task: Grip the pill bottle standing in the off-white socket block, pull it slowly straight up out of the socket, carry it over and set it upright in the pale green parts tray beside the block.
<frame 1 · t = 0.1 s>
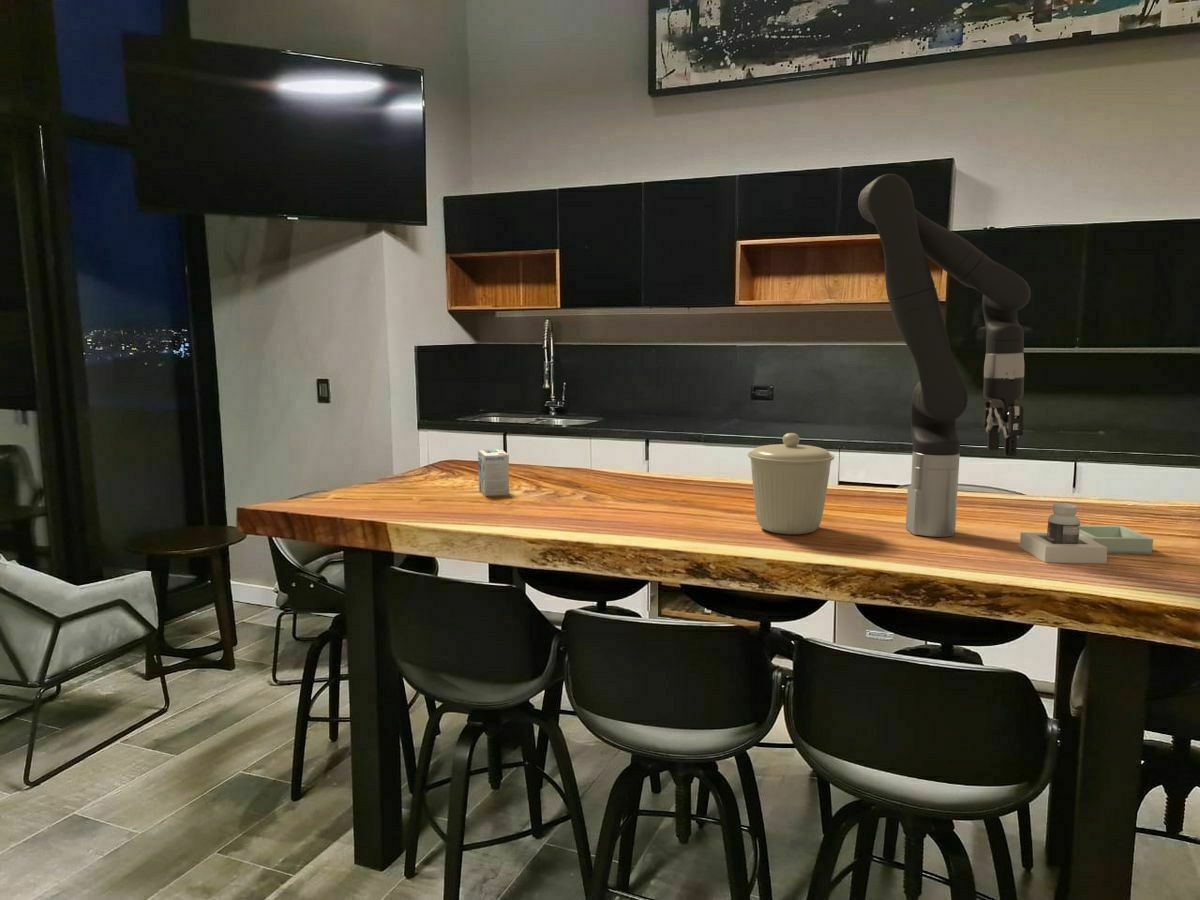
hand: (1001, 452, 177), 17 cm above the table, tool pointing down, fingers open, 8 cm apart
parts tray: (1107, 546, 168), on the table
pill bottle: (1061, 556, 162), resting in socket block
socket block: (1061, 554, 162), on the table
canister: (788, 530, 183), on the table
light bulb box: (493, 492, 227), on the table
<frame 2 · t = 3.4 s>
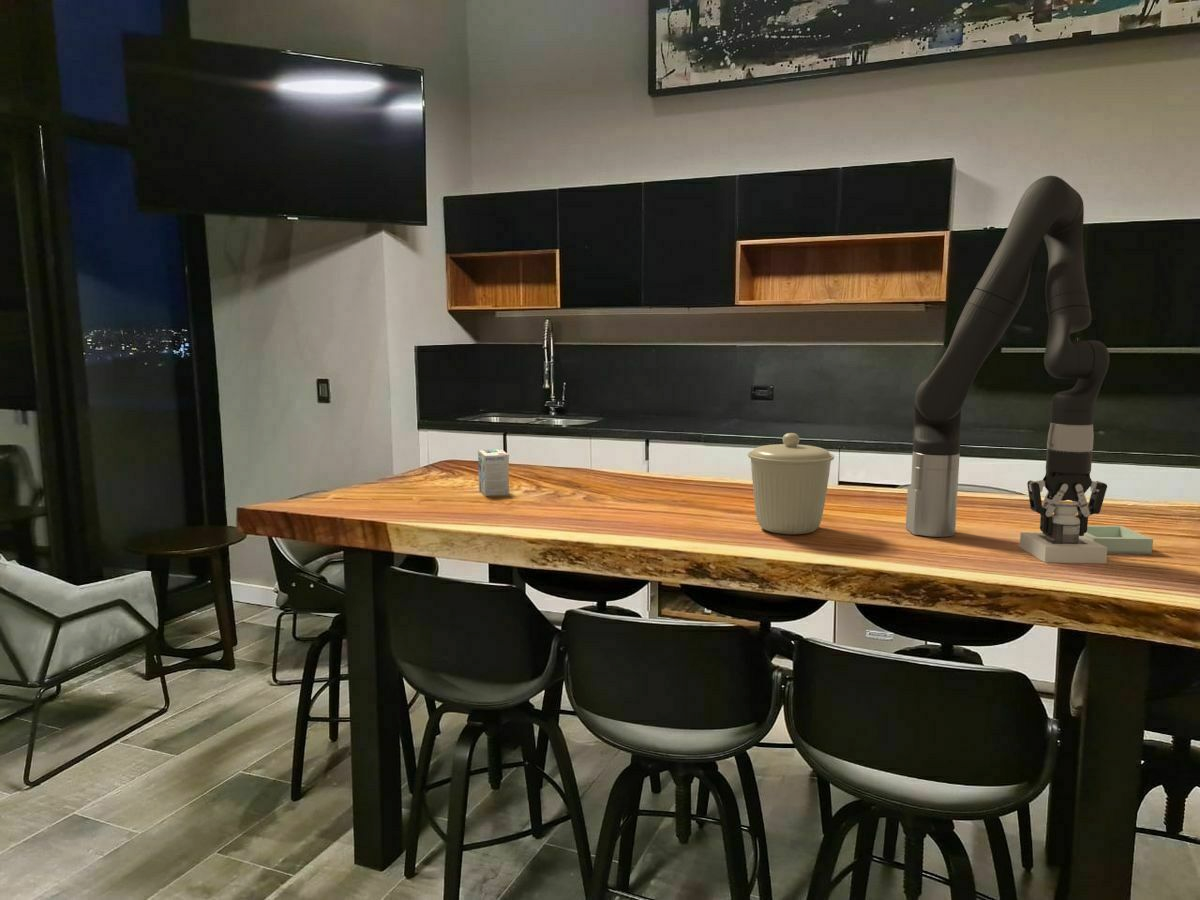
hand: (1063, 534, 162), 4 cm above the table, tool pointing down, fingers closed on pill bottle, 5 cm apart
pill bottle: (1061, 556, 162), resting in socket block, touching gripper
everything else where it was.
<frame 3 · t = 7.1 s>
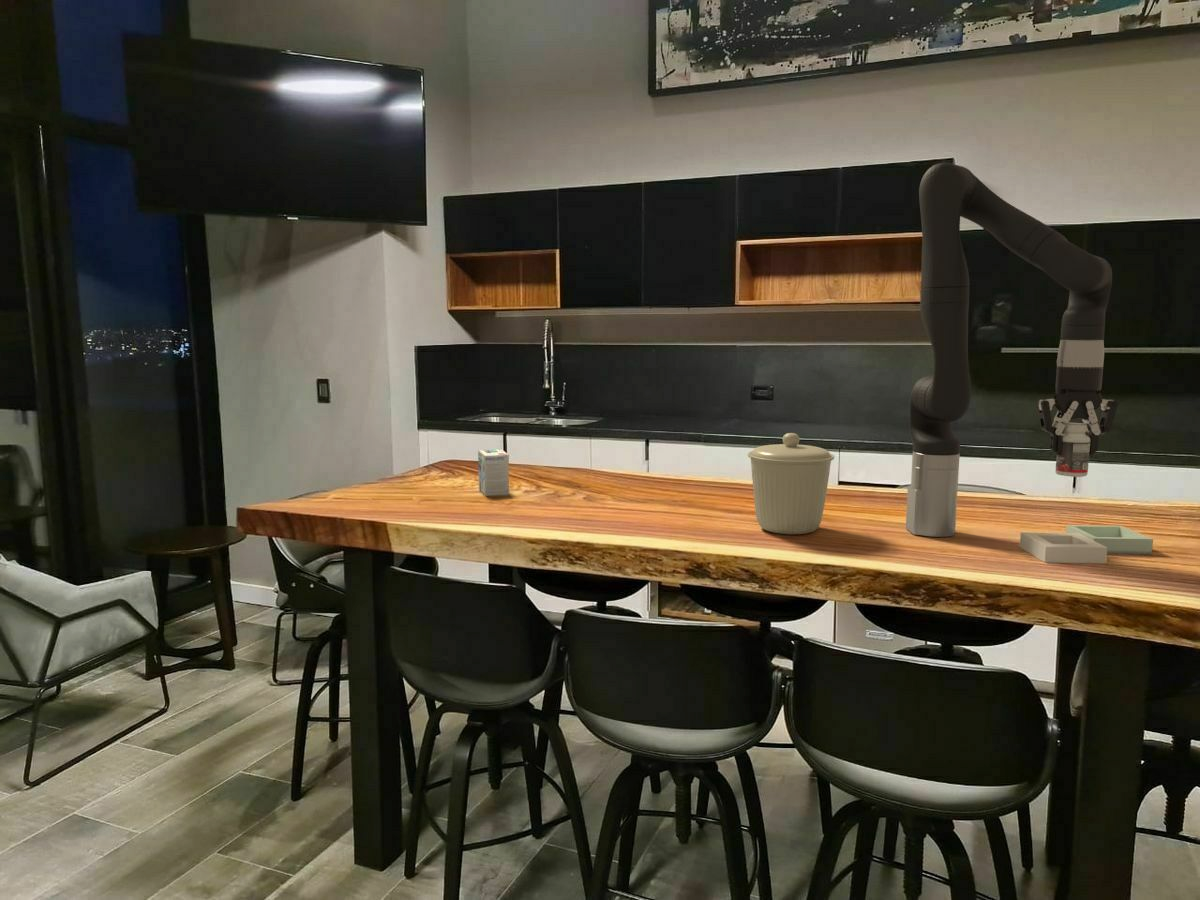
hand: (1073, 454, 160), 19 cm above the table, tool pointing down, fingers closed on pill bottle, 5 cm apart
pill bottle: (1071, 475, 161), point 15 cm above the table, touching gripper
everything else where it was.
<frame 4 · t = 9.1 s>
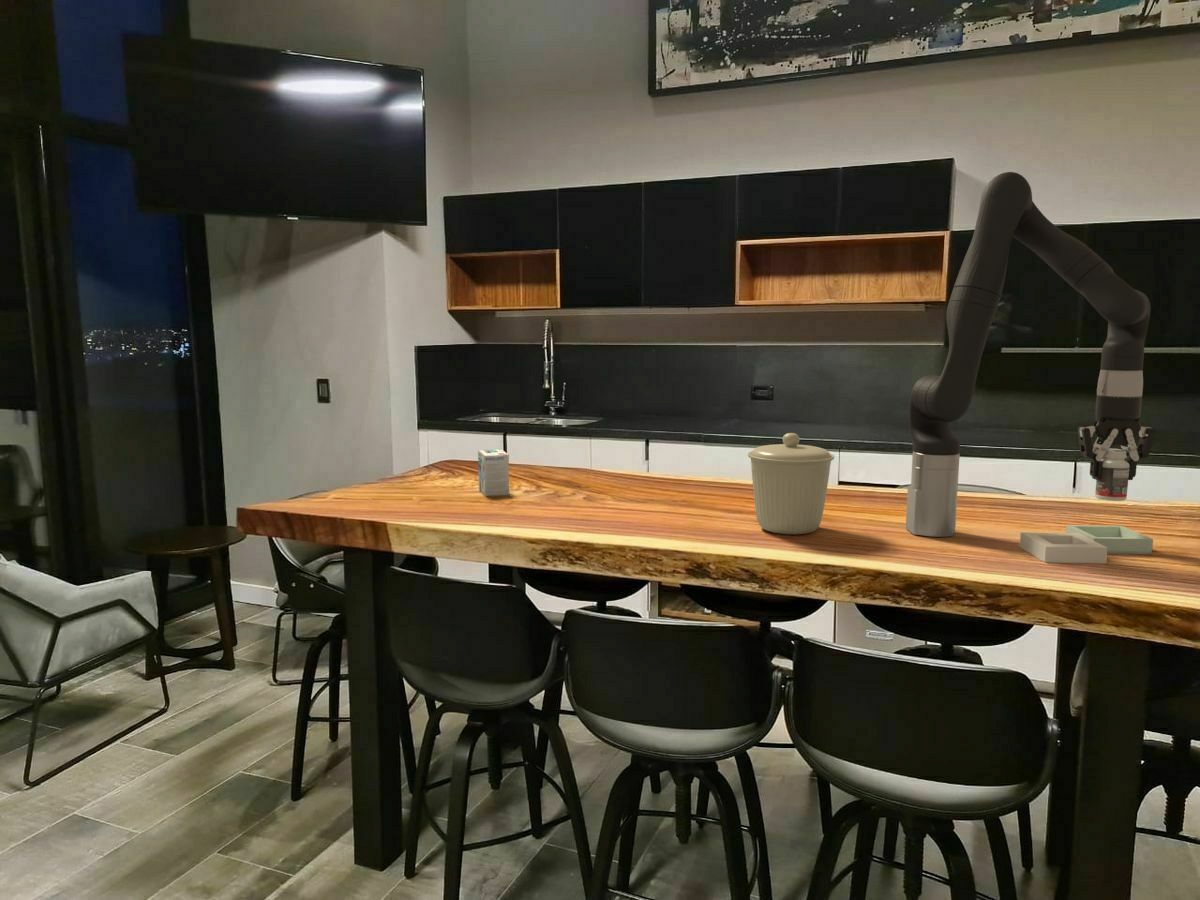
hand: (1112, 478, 167), 14 cm above the table, tool pointing down, fingers closed on pill bottle, 5 cm apart
pill bottle: (1110, 499, 167), point 9 cm above the table, touching gripper
everything else where it was.
when the fingers open (6 cm above the table, at t = 10.9 s): pill bottle drops 1 cm, resting on parts tray.
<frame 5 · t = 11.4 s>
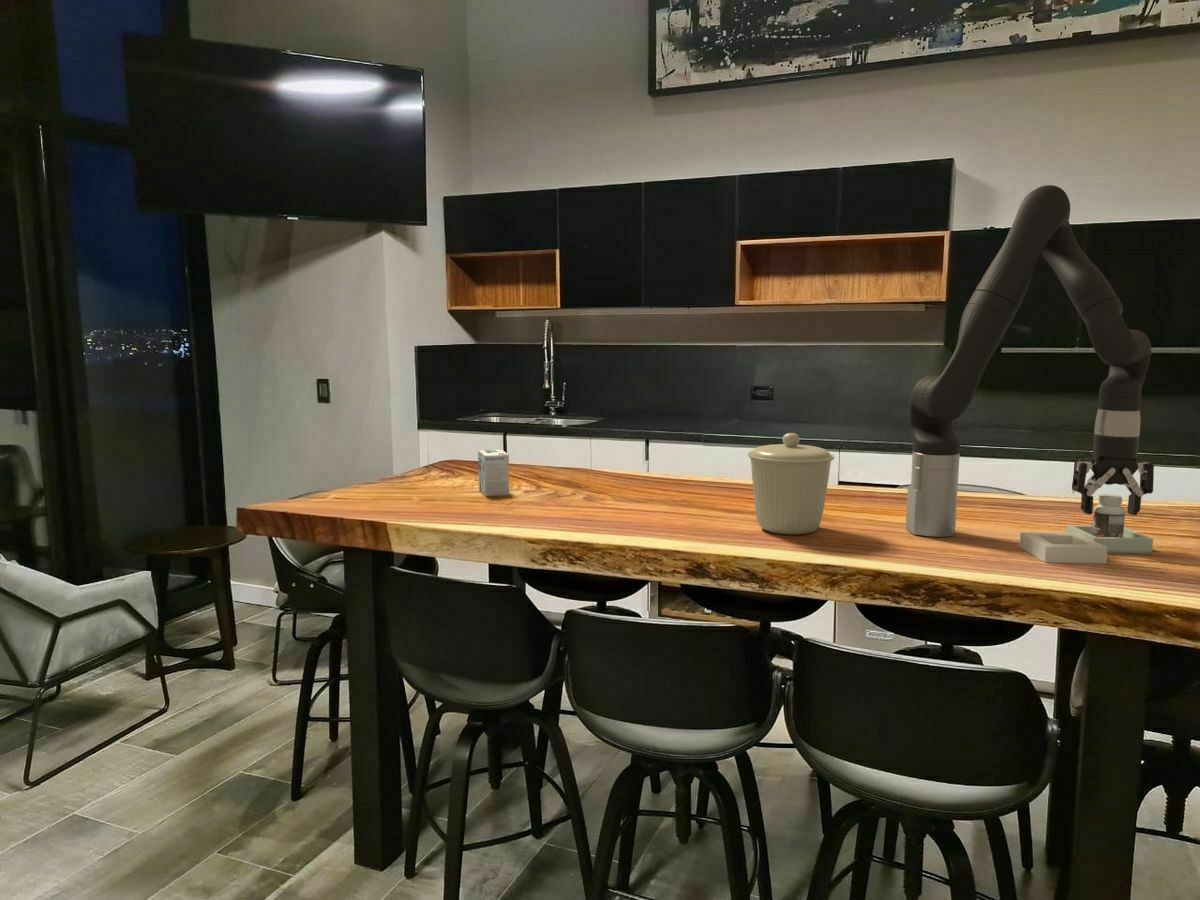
hand: (1109, 514, 168), 7 cm above the table, tool pointing down, fingers open, 8 cm apart
pill bottle: (1106, 545, 168), resting on parts tray
everything else where it was.
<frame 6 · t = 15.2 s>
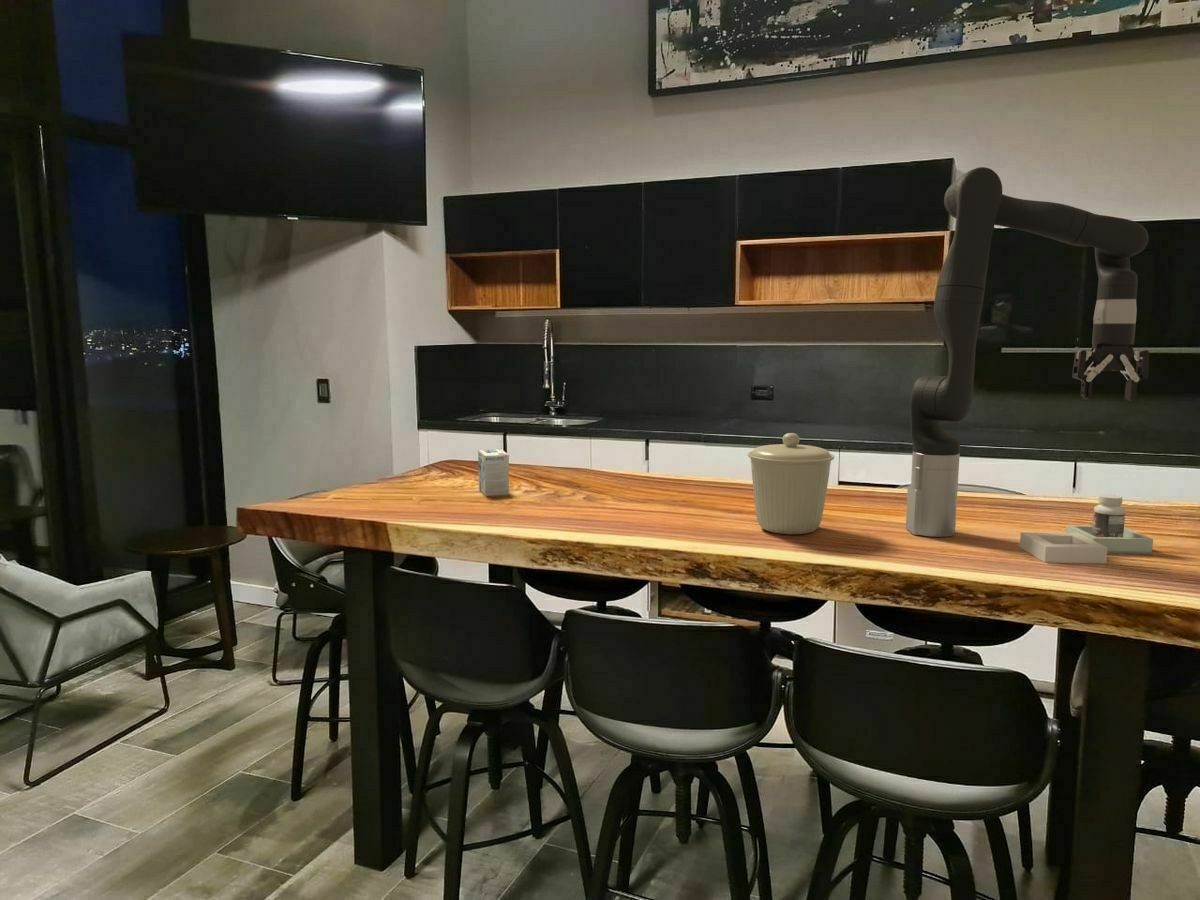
hand: (1107, 399, 178), 28 cm above the table, tool pointing down, fingers open, 8 cm apart
nothing on the table moved.
at the end: pill bottle 0.2 cm off-centre on the parts tray, point 0.3 cm above the parts tray's base; pill bottle tilted 0°; the gripper is holding nothing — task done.
